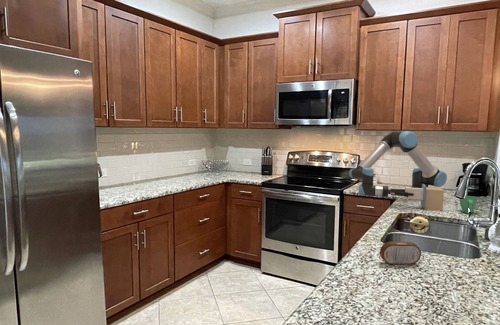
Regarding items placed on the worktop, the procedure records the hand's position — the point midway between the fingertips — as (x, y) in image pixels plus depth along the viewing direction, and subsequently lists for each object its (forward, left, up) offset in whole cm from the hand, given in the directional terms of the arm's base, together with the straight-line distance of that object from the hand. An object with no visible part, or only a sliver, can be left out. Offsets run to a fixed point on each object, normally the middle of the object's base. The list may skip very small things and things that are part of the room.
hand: (418, 193), depth 221 cm
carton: (-9, +4, -10) cm, 14 cm away
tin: (+89, +66, -10) cm, 111 cm away
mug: (-18, +22, -10) cm, 30 cm away
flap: (0, -3, -9) cm, 10 cm away
